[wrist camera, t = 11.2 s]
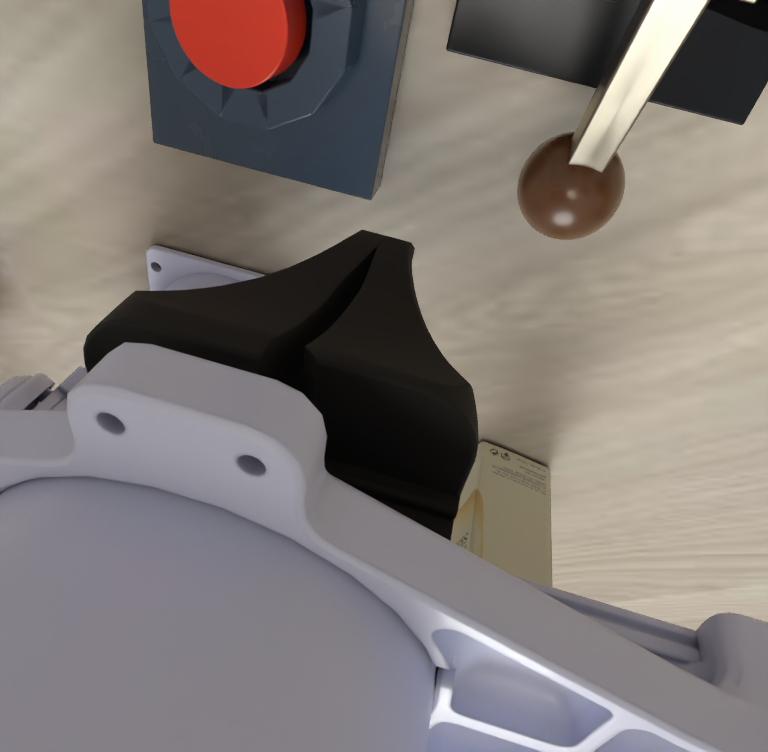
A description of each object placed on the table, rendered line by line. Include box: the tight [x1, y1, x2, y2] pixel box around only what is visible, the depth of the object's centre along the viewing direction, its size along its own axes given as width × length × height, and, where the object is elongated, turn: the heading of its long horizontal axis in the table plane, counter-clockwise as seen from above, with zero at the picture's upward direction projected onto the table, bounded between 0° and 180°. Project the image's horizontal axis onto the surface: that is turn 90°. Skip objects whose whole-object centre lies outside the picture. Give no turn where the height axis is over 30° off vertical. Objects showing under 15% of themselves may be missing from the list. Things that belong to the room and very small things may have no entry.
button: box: [170, 0, 306, 89], centre depth 17 cm, size 4×4×2 cm
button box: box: [142, 0, 414, 200], centre depth 18 cm, size 11×9×4 cm
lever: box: [517, 0, 758, 240], centre depth 14 cm, size 12×3×3 cm
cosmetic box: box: [451, 441, 552, 587], centre depth 28 cm, size 6×4×12 cm
